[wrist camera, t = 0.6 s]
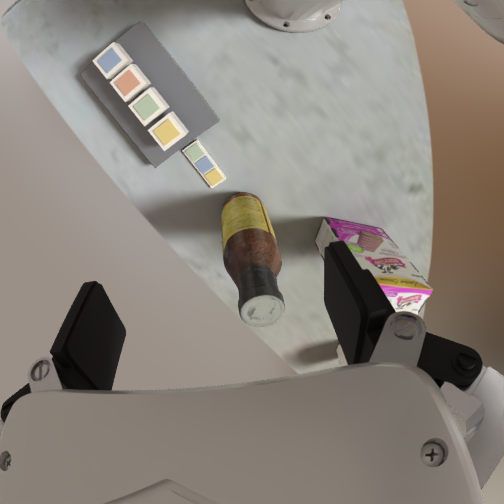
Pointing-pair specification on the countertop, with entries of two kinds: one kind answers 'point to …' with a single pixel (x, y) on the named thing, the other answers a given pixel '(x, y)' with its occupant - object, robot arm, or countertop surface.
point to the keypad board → (168, 86)
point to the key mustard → (168, 131)
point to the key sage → (148, 106)
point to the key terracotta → (130, 82)
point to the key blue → (112, 60)
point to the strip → (204, 163)
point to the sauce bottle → (252, 259)
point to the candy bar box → (379, 261)
